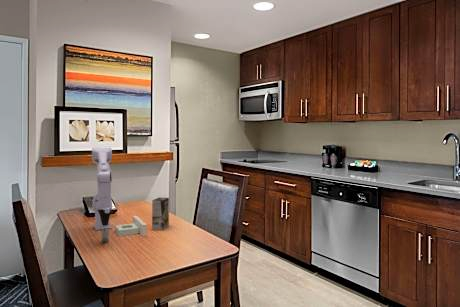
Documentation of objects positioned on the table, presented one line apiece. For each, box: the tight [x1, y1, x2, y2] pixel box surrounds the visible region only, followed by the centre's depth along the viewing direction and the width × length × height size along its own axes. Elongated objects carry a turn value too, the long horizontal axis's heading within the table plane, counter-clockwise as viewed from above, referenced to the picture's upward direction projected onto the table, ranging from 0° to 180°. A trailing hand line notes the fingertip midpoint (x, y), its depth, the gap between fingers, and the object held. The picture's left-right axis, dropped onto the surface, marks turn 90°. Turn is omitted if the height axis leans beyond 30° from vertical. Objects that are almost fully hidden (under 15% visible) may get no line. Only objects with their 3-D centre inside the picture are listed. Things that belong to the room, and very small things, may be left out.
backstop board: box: [132, 215, 148, 237], centre depth 174 cm, size 20×2×6 cm, turn 30°
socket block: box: [114, 222, 140, 237], centre depth 172 cm, size 10×10×3 cm
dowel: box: [101, 228, 109, 244], centre depth 156 cm, size 3×3×6 cm
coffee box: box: [151, 197, 170, 231], centre depth 181 cm, size 9×6×16 cm
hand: (104, 224), depth 156 cm, fingers closed
